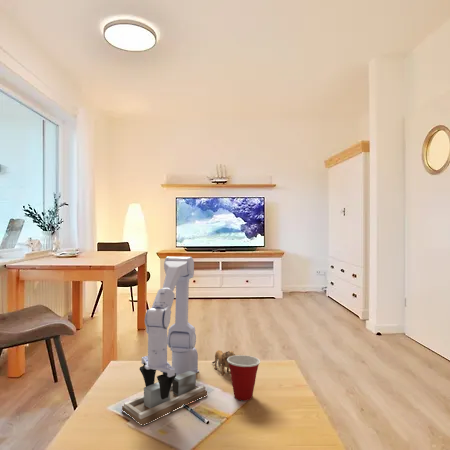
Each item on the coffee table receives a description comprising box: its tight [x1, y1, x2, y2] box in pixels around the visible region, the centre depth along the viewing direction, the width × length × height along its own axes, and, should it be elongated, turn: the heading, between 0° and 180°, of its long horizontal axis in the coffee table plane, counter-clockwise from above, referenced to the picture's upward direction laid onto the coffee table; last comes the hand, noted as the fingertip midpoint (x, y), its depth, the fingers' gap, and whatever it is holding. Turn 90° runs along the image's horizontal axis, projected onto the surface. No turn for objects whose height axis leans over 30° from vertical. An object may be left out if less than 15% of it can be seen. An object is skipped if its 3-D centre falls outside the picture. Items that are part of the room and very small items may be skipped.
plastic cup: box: [227, 354, 261, 402], centre depth 109 cm, size 11×11×12 cm
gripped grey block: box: [143, 382, 170, 408], centre depth 102 cm, size 4×7×5 cm, turn 136°
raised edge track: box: [121, 371, 208, 425], centre depth 104 cm, size 24×11×6 cm, turn 136°
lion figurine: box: [211, 349, 237, 376], centre depth 129 cm, size 15×5×9 cm, turn 35°
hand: (157, 393), depth 102 cm, fingers open, 7 cm apart
